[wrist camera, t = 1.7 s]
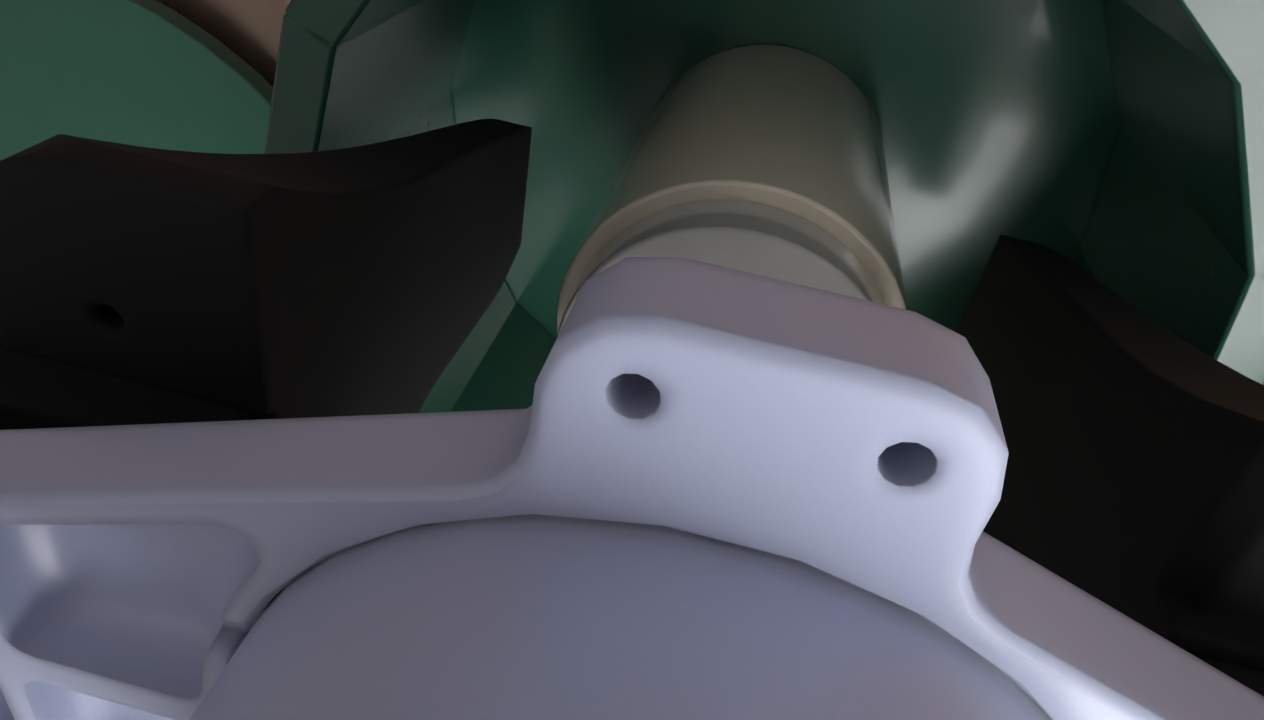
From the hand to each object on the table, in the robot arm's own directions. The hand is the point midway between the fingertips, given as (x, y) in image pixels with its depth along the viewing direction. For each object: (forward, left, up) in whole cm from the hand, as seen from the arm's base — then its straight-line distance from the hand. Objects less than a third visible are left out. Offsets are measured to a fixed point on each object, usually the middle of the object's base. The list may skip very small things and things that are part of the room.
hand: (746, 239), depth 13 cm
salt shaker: (0, 0, -3) cm, 3 cm away
